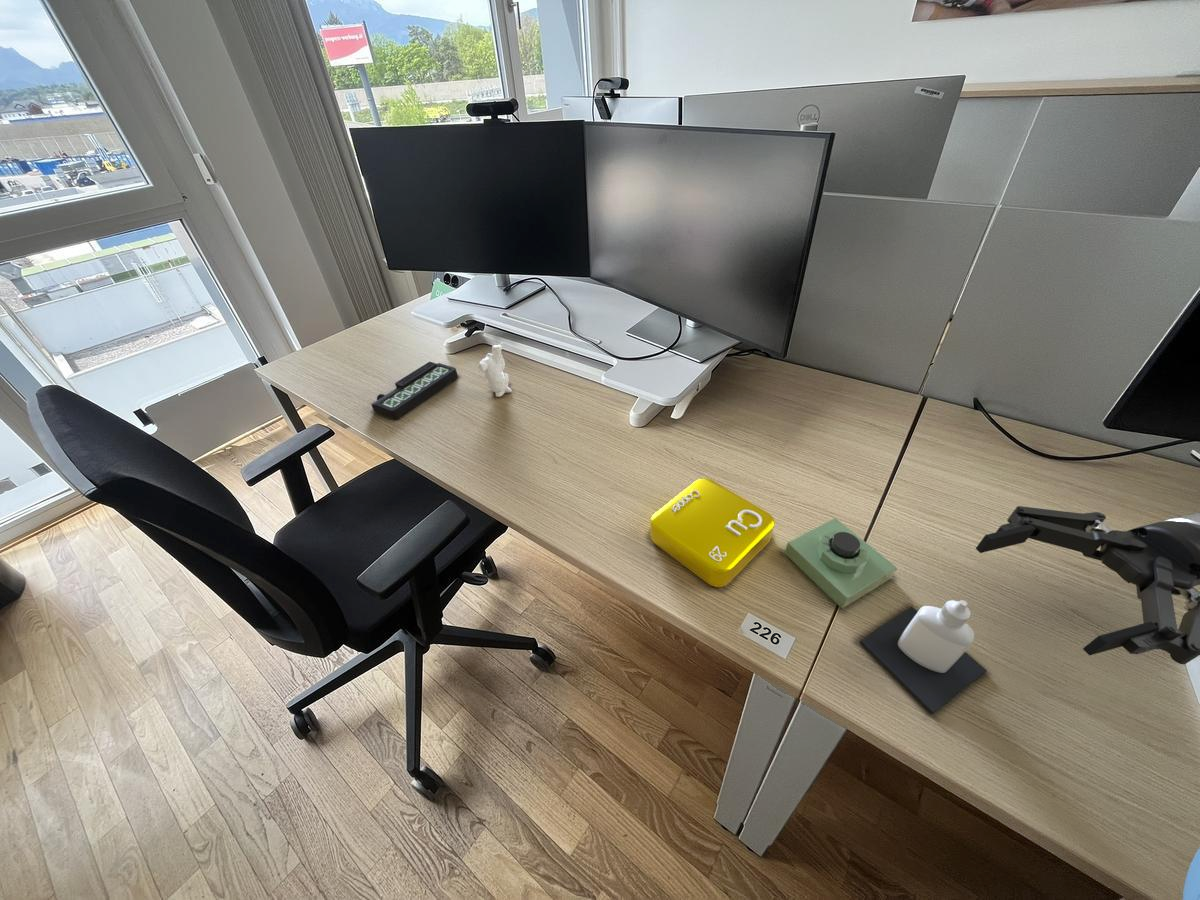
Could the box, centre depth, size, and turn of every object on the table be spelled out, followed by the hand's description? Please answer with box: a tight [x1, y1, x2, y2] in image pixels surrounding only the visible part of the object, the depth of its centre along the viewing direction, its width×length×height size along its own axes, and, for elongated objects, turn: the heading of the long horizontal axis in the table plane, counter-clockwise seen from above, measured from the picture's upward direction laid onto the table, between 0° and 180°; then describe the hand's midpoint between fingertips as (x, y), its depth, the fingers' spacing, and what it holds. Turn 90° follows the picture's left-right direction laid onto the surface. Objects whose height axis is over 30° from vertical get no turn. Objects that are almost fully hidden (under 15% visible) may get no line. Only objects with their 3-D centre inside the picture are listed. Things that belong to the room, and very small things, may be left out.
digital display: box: [371, 361, 459, 421], centre depth 116 cm, size 21×3×10 cm
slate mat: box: [859, 606, 988, 715], centre depth 59 cm, size 10×10×1 cm
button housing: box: [784, 517, 898, 609], centre depth 69 cm, size 11×10×4 cm
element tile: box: [649, 477, 776, 588], centre depth 74 cm, size 15×15×5 cm
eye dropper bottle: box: [898, 599, 975, 673], centre depth 55 cm, size 4×6×12 cm
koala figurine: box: [477, 342, 512, 398], centre depth 110 cm, size 8×7×12 cm
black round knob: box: [830, 532, 860, 559], centre depth 67 cm, size 4×4×2 cm
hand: (1032, 590), depth 53 cm, fingers open, 13 cm apart
